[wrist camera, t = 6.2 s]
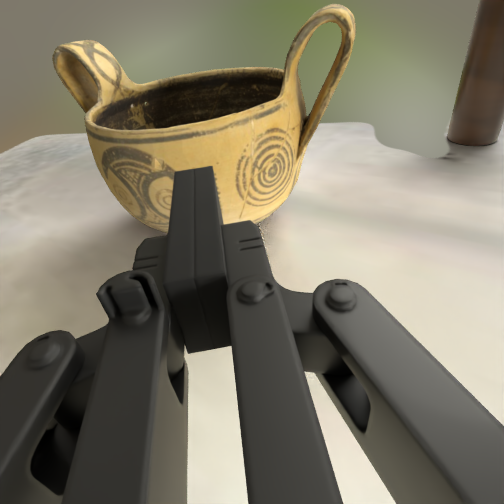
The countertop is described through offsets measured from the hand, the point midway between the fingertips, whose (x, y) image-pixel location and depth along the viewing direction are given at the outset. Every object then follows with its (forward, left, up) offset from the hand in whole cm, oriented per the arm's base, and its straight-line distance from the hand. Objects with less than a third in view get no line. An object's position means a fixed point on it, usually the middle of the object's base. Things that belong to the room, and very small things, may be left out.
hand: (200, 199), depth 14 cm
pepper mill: (-28, -25, -10) cm, 39 cm away
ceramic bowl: (+1, -15, -10) cm, 18 cm away
